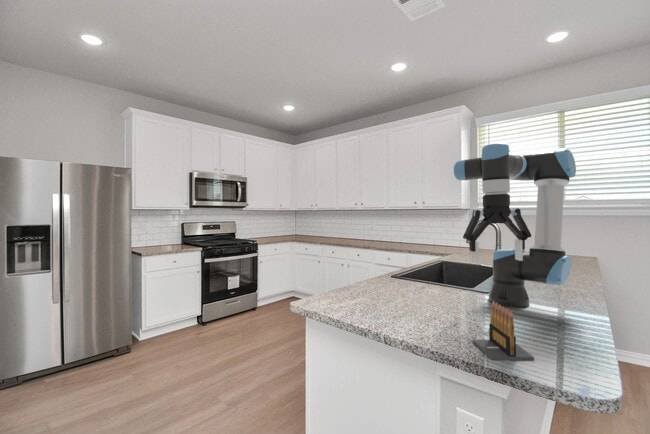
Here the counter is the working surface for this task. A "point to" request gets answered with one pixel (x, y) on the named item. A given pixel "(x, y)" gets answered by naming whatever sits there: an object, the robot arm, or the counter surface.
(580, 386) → the counter surface
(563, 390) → the counter surface
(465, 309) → the counter surface
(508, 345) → the ammunition clip
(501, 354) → the mat
